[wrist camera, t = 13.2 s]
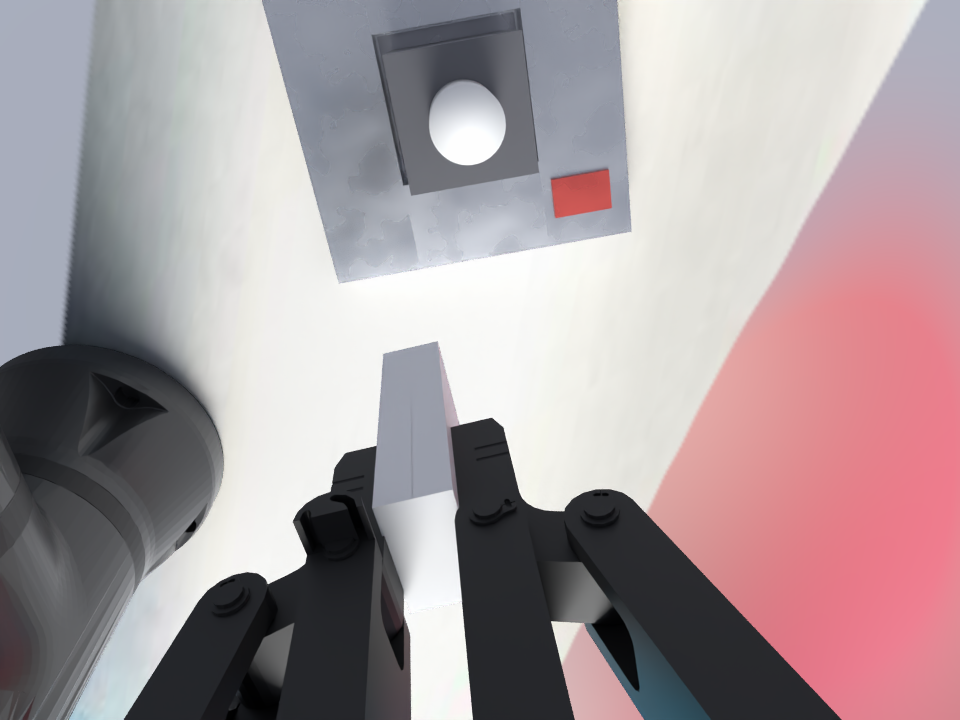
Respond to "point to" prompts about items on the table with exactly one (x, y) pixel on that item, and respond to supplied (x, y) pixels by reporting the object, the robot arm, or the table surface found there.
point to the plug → (463, 111)
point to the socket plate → (376, 146)
